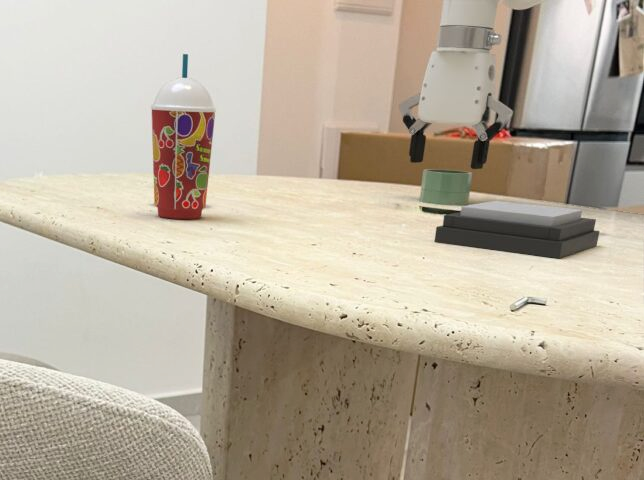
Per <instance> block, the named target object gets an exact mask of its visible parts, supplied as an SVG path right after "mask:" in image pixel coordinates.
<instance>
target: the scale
mask: <svg viewBox="0 0 644 480" xmlns="http://www.w3.org/2000/svg"><path fill="white" fill-rule="evenodd" d="M460 215H461V212H458V213H453V214H443V220H442V221H443V222H442V225H438V226H435V227H436V228H435V235H434V243H439V244H440V243H442V244H448V245H454V246H455V245H456V246H463V247H470V248H478V249H485V250H492V251H500V252H507V253H515V254H522V255H529V256H538V257H544V258H550V259H551V258H552V259H558V260H559V259H562V258H565V257H567V256H571V255H573V254H576V253H579V252H580V253H581V252H582V251H585V250H588V249H590V248H594V247H597V246H598V241H599V236H600V230H595V226H596V222H597V219H596V218H588V217H587V218H586V217H581V219H580V220H578V221H574V222H570V223H566V224H563V225H559V226H555V227H552V226H544V225H535V224H527V223H518V222H510V221H501V220H492V219H484V218H475V217H467V216H460Z"/></svg>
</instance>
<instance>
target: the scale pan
mask: <svg viewBox="0 0 644 480" xmlns="http://www.w3.org/2000/svg"><path fill="white" fill-rule="evenodd" d="M460 211H461V215H460V216H467V217H475V218H484V219H492V220H501V221H510V222H518V223H527V224H535V225H544V226H552V227H555V226H559V225H563V224H566V223H570V222H574V221H578V220H580V219H581V218H582V213H583V210H582V209H577V208H576V209H575V208H566V207H559V206H557V207H556V206H547V205H538V204H529V203H521V202H509V201H500V200H492V201H485V202H480V203H474V204H473V203H472V204H468V205H461V208H460Z"/></svg>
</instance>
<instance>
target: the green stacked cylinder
mask: <svg viewBox="0 0 644 480" xmlns="http://www.w3.org/2000/svg"><path fill="white" fill-rule="evenodd" d="M472 179H473V172H470V171H466V170H465V171H464V170H457V169H456V170H454V169H436V168H435V169H434V168H432V169H431V168H428V169H423V170H422V178H421V187H420V194H419V202H420V203H425V204H431V205H439V206H468V205H469V200H470V193H471V185H472ZM418 207H419V208H421V211H422V212H424V213H427V214H435V215H447V214H453V213H458V212H461V210H456V209H448V208H439V207H430V206H422V205H420V206H418Z"/></svg>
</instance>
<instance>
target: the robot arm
mask: <svg viewBox="0 0 644 480" xmlns="http://www.w3.org/2000/svg"><path fill="white" fill-rule="evenodd" d="M499 1H500V2H501V3H502V4H503V5H504V6H505V7H507V8H509V9H511V10H517V11H523V10H527V9H530V8H532V7H535V6H537V5H540V4H541V3H543V2H545V1H546V0H443V1H442V9H441V16H440V23H439V29H438V36H437V43H436V49H435V50H432V51H431V55H430V56H429V60H428V63H427V66H426V69H425V73H424V77H423V81H422V85H421V90H420V92H419V93H417V94H415V95H413V96H411V97H409V98H407V99H405V100H403V101H401V102H400V103H399V104H398V107H399V111H400V114H401V117H402V122H403V124H404V125H405V127H406V128H407V130H408V133H409V135H410V136H411V137H410V144H409V150H408V151H409V152H408V155H409V157H410V158H409V161H410V163H412V164H417V163H423V161H424V157H425V156H424V155H425V148H426V141H427V136H426V134H424V133H425V132H426V130H428V128H429V127H430V126H431V125H432V124H439V125H440V124H442V125H451V126H452V125H454V126H465V127H466V126H469V127H470V126H471V127H472V128H473V131H474V132H475V134H476V135H477V139H476V140H475V141H474V142H473V149H472V154H471V160H470V161H471V162H470V169H472V170H482V169H483V167H484V165H485V164H486V163H487V160H488V155H489V154H488V153H489V147H490V143H491V142H490V141H493V140H494V137H496V136H497V135H499V134H500V133H501V132H502V131H503V130H504V128H505V126H506V125H507V123H508V121H509V120H510V119H511V117H513V114H514V111H513V110H512V109H511V108H510V107H508V106H507V105H506V104H504V103H503V102H501V101H500V100H498V99H497V98H496V97H495V93H496V77H497V75H496V73H497V69H496V68H497V66H496V65H497V64H496V62H497V61H496V54H494V53H491V50H493V46H495V45H496V46H497V45H500V44H501V42H502V34H500V33H499V34H497V33H496V32H495V29H494V28H495V22H496V15H497V10H498V3H499ZM417 106H418V108H417V109H418V110H417V117H418V119H416V118H415V116H414V115H413V108H415V107H417ZM493 112H495V113H496V114H497V118H496V120H495V121H494V122H493V123H492V124H491V125H490V126H489V123H490V122H491V120H492V117H493Z"/></svg>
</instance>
